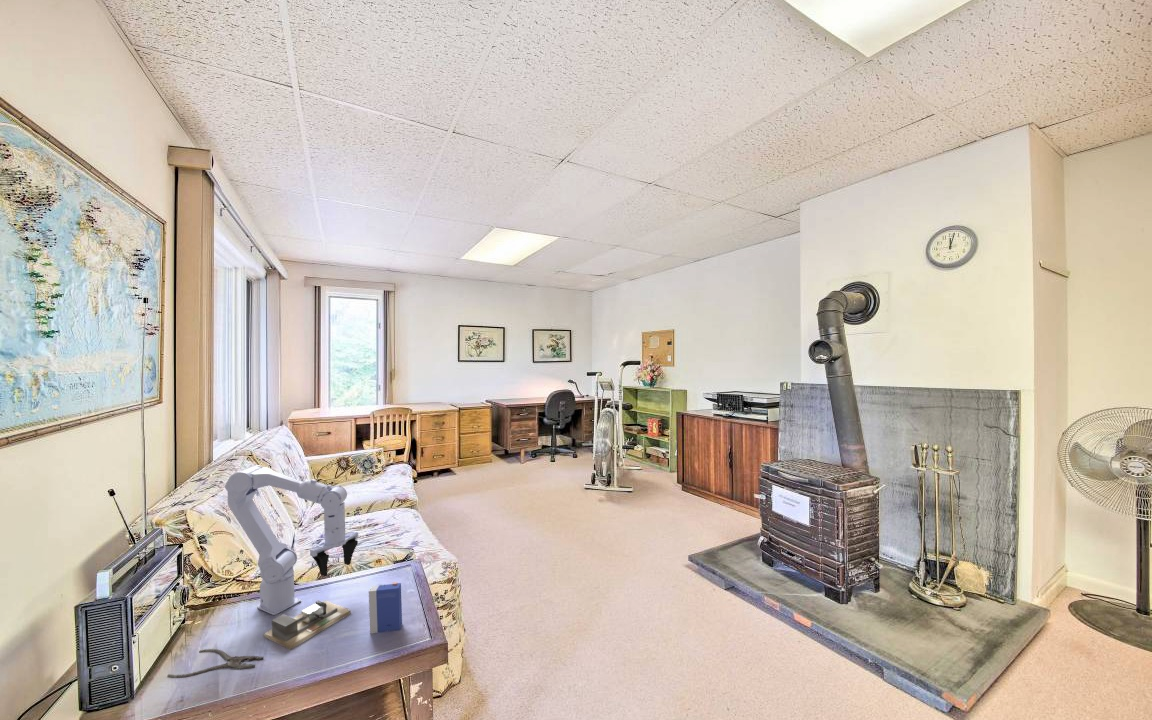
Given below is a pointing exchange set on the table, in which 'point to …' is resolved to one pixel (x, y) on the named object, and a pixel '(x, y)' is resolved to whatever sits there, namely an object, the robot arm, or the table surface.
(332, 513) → the robot arm
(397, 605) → the walkman
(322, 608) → the block with upright rod
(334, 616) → the bench
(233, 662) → the pliers
